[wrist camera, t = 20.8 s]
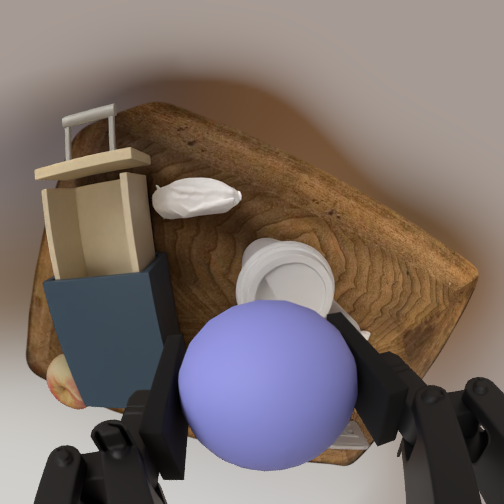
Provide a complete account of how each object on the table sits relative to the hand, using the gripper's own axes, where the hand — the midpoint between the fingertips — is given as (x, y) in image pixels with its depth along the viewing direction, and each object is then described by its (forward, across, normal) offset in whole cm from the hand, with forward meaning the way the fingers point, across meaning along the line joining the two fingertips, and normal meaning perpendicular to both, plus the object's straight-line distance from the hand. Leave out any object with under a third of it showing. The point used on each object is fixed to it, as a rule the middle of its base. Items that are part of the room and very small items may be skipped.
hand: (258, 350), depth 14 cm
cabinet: (+27, -16, -8) cm, 32 cm away
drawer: (+26, -16, +8) cm, 31 cm away
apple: (+27, -28, -17) cm, 42 cm away
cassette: (+27, +13, -35) cm, 46 cm away
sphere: (0, 0, 0) cm, 0 cm away
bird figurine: (+27, -5, +6) cm, 28 cm away
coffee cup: (+27, +4, -3) cm, 27 cm away
